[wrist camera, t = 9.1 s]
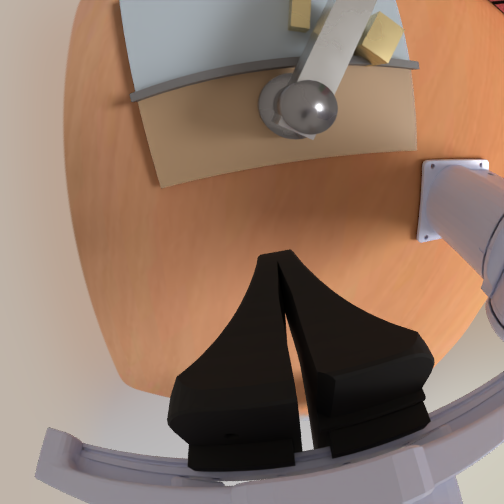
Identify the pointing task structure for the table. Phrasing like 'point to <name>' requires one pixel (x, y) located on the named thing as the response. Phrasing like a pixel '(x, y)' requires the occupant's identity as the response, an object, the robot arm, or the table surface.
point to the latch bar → (322, 68)
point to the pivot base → (267, 106)
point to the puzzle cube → (499, 4)
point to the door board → (250, 87)
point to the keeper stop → (379, 39)
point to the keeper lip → (299, 15)
